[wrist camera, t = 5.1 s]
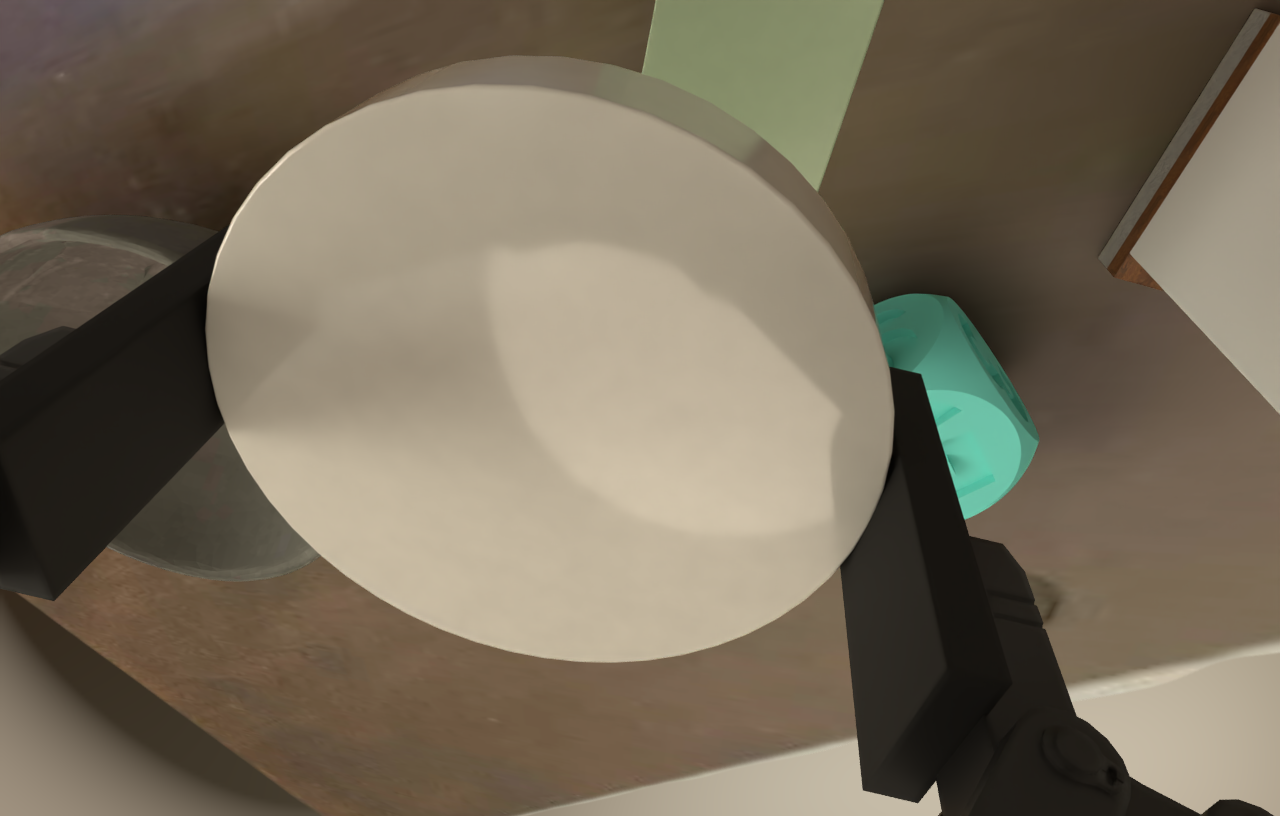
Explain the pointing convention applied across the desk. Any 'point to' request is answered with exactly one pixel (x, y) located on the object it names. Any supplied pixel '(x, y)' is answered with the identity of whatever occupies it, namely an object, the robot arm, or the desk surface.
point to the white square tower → (1219, 211)
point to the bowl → (216, 475)
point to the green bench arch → (768, 65)
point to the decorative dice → (962, 395)
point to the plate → (554, 361)
